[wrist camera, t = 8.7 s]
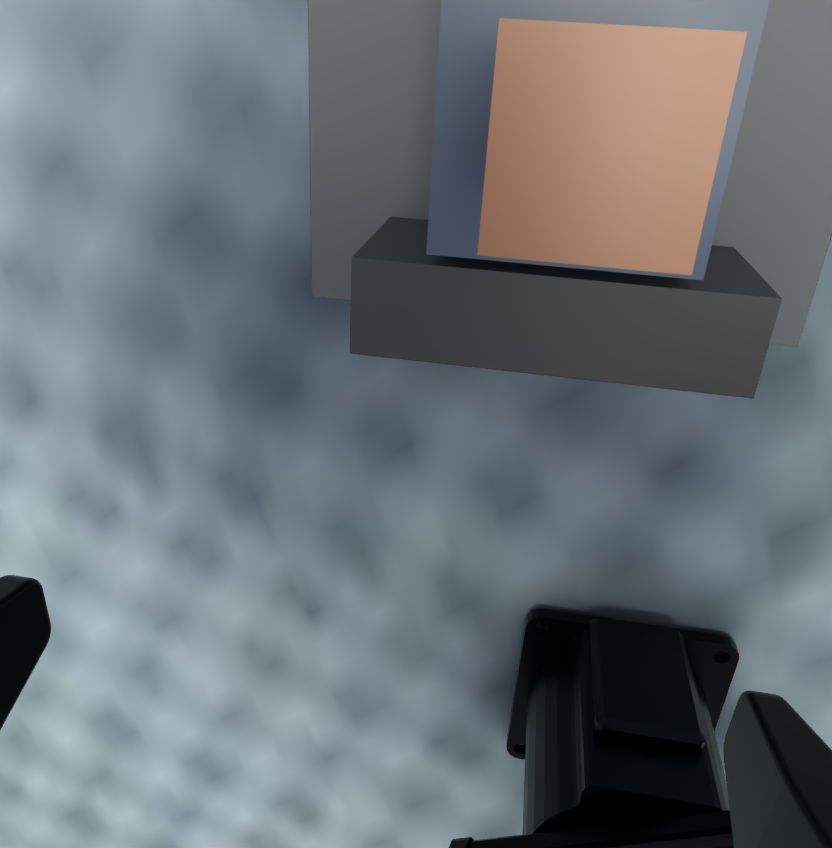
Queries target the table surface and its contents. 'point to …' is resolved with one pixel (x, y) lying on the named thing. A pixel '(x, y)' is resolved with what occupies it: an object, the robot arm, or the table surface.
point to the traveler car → (588, 130)
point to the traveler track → (401, 132)
